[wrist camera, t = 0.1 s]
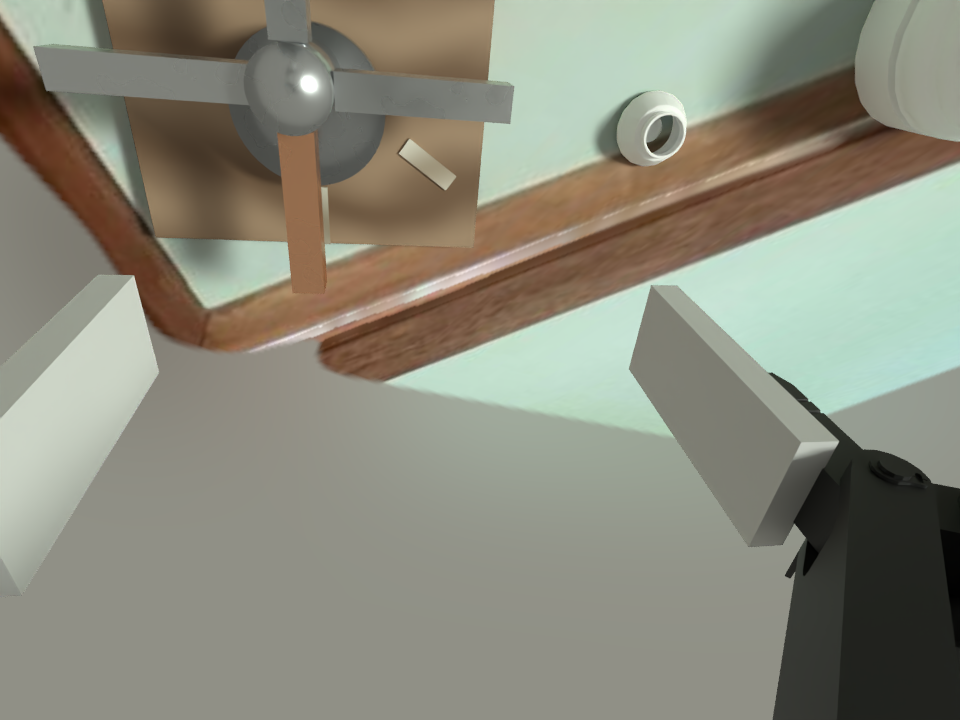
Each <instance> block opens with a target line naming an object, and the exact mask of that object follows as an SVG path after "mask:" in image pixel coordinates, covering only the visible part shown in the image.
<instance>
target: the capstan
mask: <svg viewBox="0 0 960 720" xmlns="http://www.w3.org/2000/svg"><path fill="white" fill-rule="evenodd" d="M264 3H265V13H266V24H267V27H265V28H263V29H261V30H260V31H258V32H257V33H255V34H254V35H252V36H251V37H250V38H249V39H248V40H247V41H246V42H245V43H244V45H243V46H242V47H241V49H240V50H239V52H238V53H237V55H236V57H235V59H226V58H214V57H202V56H190V55H178V54H166V53H154V52H142V51H131V50H119V49H107V48H95V47H83V46H71V45H59V44H49V45H41V46H33V47H34V51H35V54H36V57H37V61H38V64H39V68H40V71H41V75H42V78H43V81H44V85H45V88H46V91H56V92H70V93H84V94H98V95H113V96H127V97H141V98H155V99H169V100H183V101H197V102H211V103H225V104H229V109H230V114H231V117H232V120H233V123H234V126H235V128H236V130H237V132H238V135H239V136H240V138H241V140H242V141H243V143H244V145H245V146H246V147H247V149H248V150H249V151H250V152H251V154H252V155H253V156H254V157H255V158H256V159H257V160H258V161H259V162H260V163H261V164H263V165H264V166H265V167H266V168H268V169H269V170H271V171H272V172H274V173H275V174H277V175H279V176H281V178H282V188H283V198H284V209H285V219H286V229H287V240H288V250H289V260H290V270H291V281H292V291H293V293H315V294H324V293H325V288H326V283H327V275H326V258H325V242H324V226H323V209H322V193H321V185H330V184H335V183H338V182H341V181H344V180H346V179H348V178H350V177H352V176H353V175H355V174H357V173H358V172H359V171H360V170H362V169H363V168H364V167H365V166H366V165H367V164H368V163H369V161H370V160H371V159H372V157H373V156H374V154H375V153H376V151H377V149H378V147H379V145H380V142H381V139H382V136H383V132H384V126H385V115H393V116H408V117H422V118H436V119H450V120H464V121H478V122H492V123H506V124H510V120H511V111H512V101H513V92H514V86H513V85H511V84H510V83H508V82H500V81H488V80H476V79H464V78H452V77H440V76H428V75H416V74H405V73H393V72H381V71H376V69H375V67H374V66H373V64H372V62H371V61H370V59H369V58H368V56H367V55H366V54H365V52H364V51H363V50H362V49H361V48H360V47H359V46H358V45H357V44H356V43H355V42H354V41H353V40H352V39H350V38H349V37H348V36H347V35H345V34H344V33H342V32H340V31H339V30H337V29H335V28H333V27H331V26H329V25H326V24H323V23H320V22H316V21H311V13H310V0H264Z"/></svg>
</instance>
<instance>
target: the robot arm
mask: <svg viewBox="0 0 960 720" xmlns="http://www.w3.org/2000/svg"><path fill="white" fill-rule="evenodd" d="M629 370H630V371H631V373H632V374H633V376H634V377H635V379H636V380H637V382H638V383H639V385H640V386H641V388H642V389H643V391H644V392H645V394H646V395H647V397H648V398H649V400H650V401H651V403H652V404H653V406H654V407H655V409H656V410H657V412H658V413H659V414H660V416H661V417H662V419H663V420H664V422H665V423H666V425H667V426H668V428H669V429H670V431H671V432H672V434H673V435H674V437H675V438H676V440H677V441H678V443H679V444H680V445H681V447H682V449H683V450H684V452H685V453H686V455H687V456H688V458H689V459H690V461H691V462H692V464H693V465H694V467H695V468H696V469H697V471H698V473H699V474H700V475H701V477H702V478H703V480H704V481H705V483H706V484H707V486H708V487H709V489H710V490H711V492H712V493H713V495H714V496H715V498H716V499H717V501H718V502H719V504H720V505H721V507H722V508H723V510H724V511H725V513H726V514H727V516H728V517H729V518H730V520H731V522H732V523H733V525H734V526H735V528H736V529H737V530H738V532H739V533H740V535H741V536H742V538H743V539H744V541H745V542H746V544H747V545H748V547H759V546H774V545H783V543H784V541H785V539H786V538H787V536H788V534H789V532H790V530H791V529H792V527H793V525H794V523H795V525H796V526H797V527H798V528H799V530H800V531H801V532H802V533H803V535H804V536H805V537H806V539H805V541H804V543H803V544H802V546H801V548H800V550H799V551H798V553H797V555H796V557H795V559H794V560H793V562H792V564H791V565H790V567H789V569H788V571H787V572H786V574H785V576H786V577H788V578H791V577H792V575H793V574H794V572H795V579H794V585H793V592H792V598H791V605H790V611H789V618H788V624H787V630H786V637H785V643H784V650H783V656H782V663H781V669H780V676H779V682H778V689H777V695H776V701H775V708H774V714H773V720H960V489H959V488H954V487H948V486H943V485H938V484H933V483H931V481H930V479H929V478H928V477H927V476H926V475H925V474H924V473H923V472H922V471H921V470H920V469H918V468H917V467H915V466H914V465H912V464H911V463H909V462H908V461H905V460H903V459H901V458H899V457H897V456H895V455H892V454H889V453H885V452H882V451H878V450H863V449H861V448H860V447H859V446H858V445H857V444H856V443H855V442H854V441H853V440H852V439H850V437H849V436H847V435H846V434H845V433H844V432H843V431H842V430H841V429H840V428H839V427H838V426H837V425H836V424H835V423H833V422H832V421H831V420H830V419H829V418H828V417H827V416H826V415H825V414H824V413H820V410H819V409H818V408H817V407H816V406H815V405H814V404H813V403H812V402H808V398H807V397H805V396H804V395H803V394H802V393H801V392H800V391H799V390H798V389H797V388H796V387H795V386H794V385H792V384H791V383H789V382H787V381H785V380H784V379H782V378H780V377H779V376H777V375H775V374H773V373H768V372H767V371H766V370H764V369H763V368H762V367H761V366H760V365H759V364H758V363H757V362H756V361H755V360H754V359H753V358H752V357H751V356H750V355H749V354H748V353H747V352H746V351H745V350H744V349H743V348H742V347H740V346H739V345H738V344H737V343H736V342H735V341H734V340H733V339H732V338H731V337H730V336H729V335H728V334H727V333H726V332H725V331H724V330H723V329H722V328H721V327H720V326H719V325H718V324H716V323H715V322H714V321H713V320H712V319H711V318H710V317H709V316H708V315H707V314H706V313H705V312H704V311H703V310H702V309H701V308H700V307H699V306H698V305H697V304H696V303H695V302H694V301H692V300H691V299H690V298H689V297H688V296H687V295H686V294H685V293H684V292H683V291H682V290H681V289H680V288H679V287H678V286H668V285H651V288H650V292H649V296H648V299H647V303H646V307H645V311H644V314H643V318H642V322H641V325H640V329H639V333H638V337H637V340H636V344H635V348H634V352H633V355H632V359H631V363H630V367H629ZM158 373H159V370H158V367H157V363H156V359H155V355H154V351H153V347H152V344H151V340H150V336H149V332H148V328H147V324H146V320H145V317H144V313H143V309H142V305H141V301H140V297H139V294H138V290H137V286H136V282H135V278H134V275H97V276H96V277H95V278H94V279H93V280H92V281H91V282H90V283H89V284H88V285H87V286H86V287H85V288H84V289H83V290H81V291H80V292H79V293H78V294H77V295H76V296H75V297H74V298H73V299H72V300H71V301H70V302H69V303H68V304H67V305H65V307H63V309H61V310H60V311H59V312H58V313H57V314H56V315H55V316H54V317H53V318H52V319H51V320H49V321H48V322H47V324H45V325H44V326H43V327H42V328H41V329H40V330H39V331H38V332H37V333H36V334H35V335H34V336H32V337H31V338H30V339H29V340H28V341H27V342H26V343H25V344H24V345H23V346H22V347H21V348H20V349H19V350H18V351H16V353H14V354H13V355H12V356H11V357H10V358H9V359H8V360H7V361H6V362H5V363H4V364H3V365H2V366H0V597H5V596H20V595H22V594H23V593H24V591H25V589H26V588H27V586H28V585H29V583H30V581H31V580H32V578H33V577H34V575H35V573H36V572H37V570H38V568H39V567H40V565H41V564H42V562H43V560H44V559H45V557H46V555H47V554H48V552H49V551H50V549H51V547H52V546H53V544H54V542H55V541H56V539H57V538H58V536H59V534H60V533H61V531H62V529H63V528H64V526H65V524H66V523H67V521H68V520H69V518H70V516H71V515H72V513H73V512H74V510H75V508H76V507H77V505H78V503H79V502H80V500H81V499H82V497H83V495H84V494H85V492H86V490H87V489H88V487H89V485H90V484H91V482H92V481H93V479H94V477H95V476H96V474H97V473H98V471H99V469H100V468H101V466H102V464H103V463H104V461H105V459H106V458H107V456H108V455H109V453H110V451H111V450H112V448H113V447H114V445H115V443H116V442H117V440H118V438H119V437H120V435H121V434H122V432H123V430H124V429H125V427H126V425H127V424H128V422H129V421H130V419H131V417H132V416H133V414H134V412H135V411H136V409H137V408H138V406H139V404H140V402H141V401H142V399H143V398H144V396H145V395H146V393H147V391H148V389H149V388H150V386H151V385H152V383H153V382H154V380H155V378H156V377H157V375H158Z"/></svg>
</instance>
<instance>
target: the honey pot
mask: <svg viewBox="0 0 960 720" xmlns="http://www.w3.org/2000/svg"><path fill="white" fill-rule="evenodd" d="M855 85H856V88H857V92H858V95H859V99H860V102H861V104H862V105H863V107H864V108H865V109H866V111H867V112H868V113H869V115H870V116H871V117H872V118H874V119H875V120H877V121H879V122H880V123H882V124H884V125H885V126H889V127H893V128H897V129H901V130H905V131H909V132H913V133H917V134H923V135H926V136H931V137H936V138H938V139H944V140H951V141H960V0H875V2H874V3H873V5H872V8H871V10H870V12H869V15H868V17H867V19H866V21H865V24H864V26H863V28H862V31H861V34H860V39H859V43H858V47H857V52H856V56H855Z"/></svg>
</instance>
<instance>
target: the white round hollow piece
mask: <svg viewBox="0 0 960 720" xmlns="http://www.w3.org/2000/svg"><path fill="white" fill-rule="evenodd" d="M665 115H672V118H673V126H672V132H671V134H670V136H669V139H668V141H667V142H666V143H665V144H664V145H663V146H662V147H661V148H660V149H658V150H657V151H655V152H653V153H651V152H650V150H649V149H648V147H647V143H646V142H651V141H653V140H655V139H656V138H657V137H658V136H659V134H660V132H661V129H662V121H661V119H660V117H662V116H665ZM685 136H686V115H685V111H684V108H683V105H682V103H681V102H680V101H679V100H678V99H677V98H676V97H675V96H674V95H672V94H669V93H667V92H664V91H661V90H658V91H650V92H645V93H643V94H642V95H640V96H638V97H637V98H635V99H633V100H632V101H631V103H630V104H629V105H628V106H627V107H626V108H625V110H624V111H623V113H622V115H621V118H620V120H619V123H618V125H617V143H618V146H619V149H620V152H621V154H623V155H624V156H625V157H626V158H627V159H628V160H629V161H630V162H631V163H634V164H637V165H640V166H650V165H656V164H658V163H660V162H662V161H664V160H665V159H667V158H669V157H670V156H672V155H673V154H674V153H676V152H677V151H678V150H679V148H680V147H681V146H682V144H683V142H684V139H685Z"/></svg>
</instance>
